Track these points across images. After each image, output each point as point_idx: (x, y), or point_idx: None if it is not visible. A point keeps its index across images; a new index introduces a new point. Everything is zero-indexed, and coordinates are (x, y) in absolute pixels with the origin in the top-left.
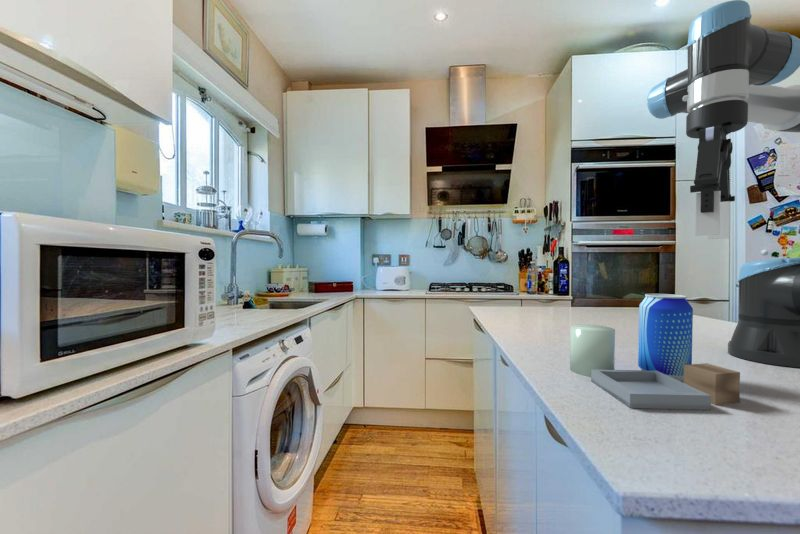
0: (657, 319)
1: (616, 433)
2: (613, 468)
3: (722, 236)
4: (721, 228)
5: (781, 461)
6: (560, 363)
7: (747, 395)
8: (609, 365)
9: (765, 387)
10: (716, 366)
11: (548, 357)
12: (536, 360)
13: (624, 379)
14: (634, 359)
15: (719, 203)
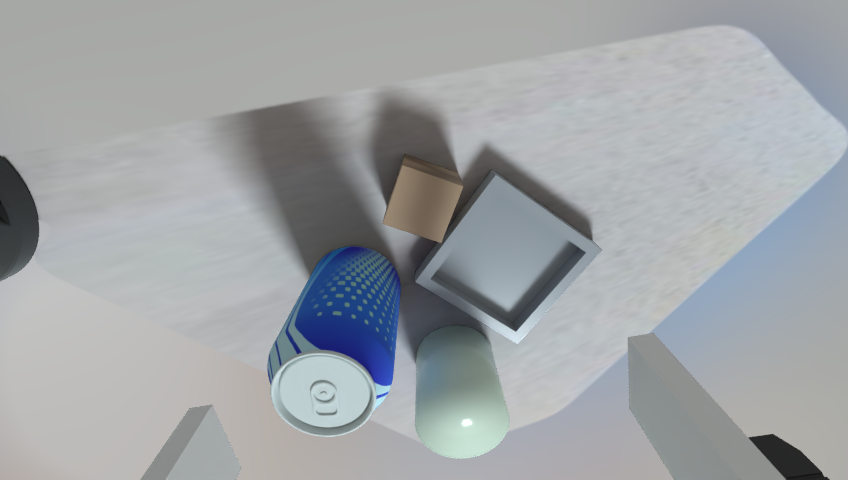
0: (394, 348)
1: (707, 209)
2: (812, 166)
3: (216, 432)
4: (195, 475)
5: (630, 52)
6: None
7: (345, 157)
8: (465, 339)
9: (252, 151)
10: (394, 204)
11: None
12: None
13: (476, 301)
14: None
15: (773, 466)
